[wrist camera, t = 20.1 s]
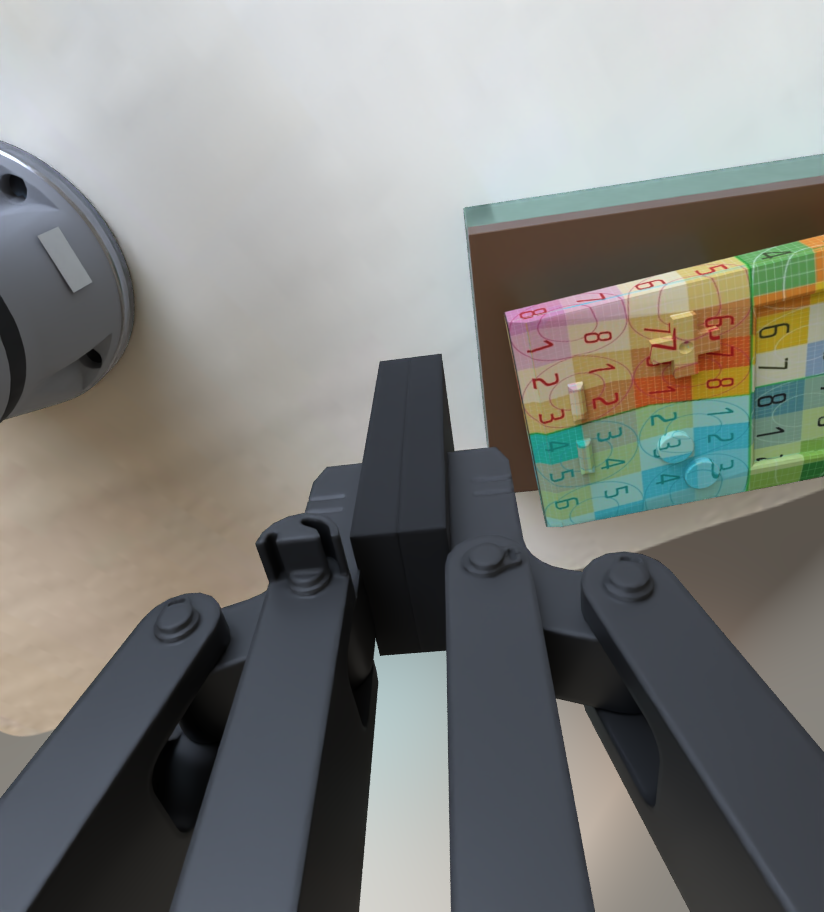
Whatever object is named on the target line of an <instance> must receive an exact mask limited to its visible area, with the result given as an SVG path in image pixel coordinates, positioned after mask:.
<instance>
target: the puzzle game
mask: <svg viewBox="0 0 824 912" xmlns="http://www.w3.org/2000/svg"><path fill="white" fill-rule="evenodd" d="M504 318H505V323H506V328H507V333H508V338H509V343H510V348H511V353H512V358H513V363H514V368H515V373H516V379H517V384H518V389H519V394H520V399H521V404H522V409H523V414H524V419H525V424H526V429H527V434H528V439H529V444H530V449H531V454H532V459H533V464H534V469H535V474H536V479H537V484H538V489H539V494H540V500H541V505H542V510H543V514H544V519H545V523H546V527H564V526H569V525H574V524H580V523H585V522H590V521H595V520H600V519H606V518H611V517H616V516H621V515H626V514H631V513H637V512H642V511H647V510H652V509H657V508H663V507H668V506H673V505H678V504H683V503H688V502H694V501H699V500H704V499H709V498H714V497H720V496H725V495H730V494H735V493H740V492H746V491H751V490H756V489H761V488H766V487H771V486H777V485H782V484H787V483H792V482H797V481H803V480H808V479H813V478H818V477H823V476H824V235H821V236H816V237H812V238H808V239H804V240H800V241H796V242H792V243H788V244H784V245H779V246H775V247H771V248H767V249H763V250H759V251H755V252H751V253H746V254H742V255H738V256H734V257H730V258H726V259H722V260H718V261H714V262H709V263H705V264H701V265H697V266H693V267H689V268H685V269H681V270H677V271H672V272H668V273H664V274H660V275H656V276H652V277H648V278H644V279H639V280H635V281H631V282H627V283H623V284H619V285H615V286H611V287H607V288H602V289H598V290H594V291H590V292H586V293H582V294H578V295H574V296H570V297H565V298H561V299H557V300H553V301H549V302H545V303H541V304H537V305H532V306H528V307H524V308H520V309H516V310H512V311H508V312H504Z"/></svg>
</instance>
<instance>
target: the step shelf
mask: <svg viewBox="0 0 824 912" xmlns="http://www.w3.org/2000/svg"><path fill="white" fill-rule="evenodd" d="M464 219H465V229H466V239H467V249H468V259H469V269H470V279H471V289H472V299H473V309H474V319H475V329H476V339H477V349H478V359H479V369H480V379H481V389H482V399H483V409H484V418H485V428H486V438H487V447H488V448H489V447H497V448H498V449H499V450H500V451H501V452H502V453H503V454H504V455H505V456H506V457H507V458H508V459H509V464H510V469H511V475H512V480H513V486H514V492H515V493H516V492H526V491H536V490H539V489H538V484H537V479H536V474H535V469H534V464H533V459H532V454H531V449H530V444H529V439H528V434H527V429H526V424H525V419H524V414H523V409H522V404H521V399H520V394H519V389H518V384H517V379H516V373H515V368H514V363H513V358H512V353H511V348H510V343H509V338H508V333H507V328H506V323H505V318H504V312H508V311H512V310H516V309H520V308H524V307H528V306H532V305H537V304H541V303H545V302H549V301H553V300H557V299H561V298H565V297H570V296H574V295H578V294H582V293H586V292H590V291H594V290H598V289H602V288H607V287H611V286H615V285H619V284H623V283H627V282H631V281H635V280H639V279H644V278H648V277H652V276H656V275H660V274H664V273H668V272H672V271H677V270H681V269H685V268H689V267H693V266H697V265H701V264H705V263H709V262H714V261H718V260H722V259H726V258H730V257H734V256H738V255H742V254H746V253H751V252H755V251H759V250H763V249H767V248H771V247H775V246H779V245H784V244H788V243H792V242H796V241H800V240H804V239H808V238H812V237H816V236H821V235H824V154H820V155H813V156H807V157H800V158H793V159H787V160H780V161H773V162H767V163H760V164H753V165H746V166H740V167H733V168H726V169H720V170H713V171H706V172H700V173H693V174H686V175H680V176H673V177H666V178H659V179H653V180H646V181H639V182H633V183H626V184H619V185H613V186H606V187H599V188H593V189H586V190H579V191H572V192H566V193H559V194H552V195H546V196H539V197H532V198H526V199H519V200H512V201H506V202H499V203H492V204H485V205H479V206H472V207H465V208H464Z"/></svg>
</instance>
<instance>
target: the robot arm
mask: <svg viewBox="0 0 824 912" xmlns="http://www.w3.org/2000/svg"><path fill="white" fill-rule="evenodd" d="M133 322H134V295H133V288H132V282H131V278H130V274H129V271H128V268H127V265H126V262H125V259H124V256H123V254H122V252H121V250H120V247H119V245H118V243H117V241H116V240H115V238H114V236H113V234H112V232H111V231H110V229H109V228H108V226H107V224H106V223H105V221H104V220H103V218H102V217H101V216H100V215H99V213H98V212H97V211H96V209H95V208H94V207H93V206H92V204H91V203H90V202H89V201H88V200H87V199H86V198H85V196H84V195H83V194H82V193H81V192H80V191H79V190H78V189H77V188H76V187H75V186H74V185H73V184H71V183H70V182H69V181H68V180H67V179H66V178H64V177H63V176H62V175H61V174H60V173H58V172H57V171H56V170H54V169H53V168H51V167H50V166H49V165H47V164H46V163H44V162H43V161H41V160H39V159H38V158H36V157H35V156H33V155H31V154H29V153H27V152H25V151H23V150H22V149H20V148H18V147H15V146H13V145H10V144H8V143H6V142H3V141H0V423H1V422H2V421H3V420H5V419H8V418H12V417H15V416H19V415H22V414H25V413H29V412H32V411H36V410H39V409H42V408H46V407H49V406H53V405H56V404H59V403H62V402H65V401H68V400H70V399H73V398H75V397H77V396H79V395H81V394H83V393H85V392H86V391H88V390H89V389H90V388H92V387H93V386H94V385H95V384H96V383H98V382H99V381H100V380H101V379H102V378H103V377H104V376H105V375H106V374H107V373H108V372H109V371H110V370H111V369H112V368H113V367H114V365H115V364H116V363H117V362H118V360H119V359H120V357H121V356H122V354H123V353H124V351H125V349H126V346H127V344H128V342H129V339H130V335H131V332H132V327H133ZM255 545H256V547H257V550H258V553H259V556H260V558H261V561H262V564H263V567H264V569H265V572H266V575H267V578H268V580H269V585H268V589H267V591H265V592H264V593H262V594H260V595H258V596H255V597H253V598H251V599H248V600H245V601H242V602H239V603H236V604H233V605H230V606H227V607H224V608H220V605H219V604H218V602H217V601H216V600H215V599H214V598H213V597H212V596H209V595H206V594H203V593H187V594H183V595H180V596H176V597H173V598H170V599H168V600H167V601H165V602H163V603H161V604H160V605H158V606H156V607H155V608H154V609H152V610H151V611H150V612H149V613H148V614H147V615H146V616H145V617H144V618H143V619H142V620H141V622H140V623H139V624H138V625H137V627H136V628H135V629H134V630H133V632H132V633H131V634H130V635H129V637H128V638H127V639H126V640H125V642H124V643H123V644H122V645H121V647H120V648H119V649H118V651H117V652H116V653H115V654H114V656H113V657H112V658H111V659H110V661H109V662H108V663H107V664H106V666H105V667H104V668H103V669H102V671H101V672H100V673H99V674H98V676H97V677H96V678H95V680H94V681H93V682H92V683H91V685H90V686H89V687H88V688H87V690H86V691H85V692H84V693H83V695H82V696H81V697H80V698H79V700H78V701H77V702H76V703H75V705H74V706H73V707H72V708H71V710H70V711H69V712H68V714H67V715H66V716H65V717H64V719H63V720H62V721H61V722H60V724H59V725H58V726H57V727H56V729H55V730H54V731H53V733H52V734H51V735H50V736H49V737H48V739H47V740H46V741H45V743H44V744H43V745H42V746H41V748H40V749H39V750H38V751H37V753H36V754H35V755H34V756H33V758H32V759H31V760H30V762H29V763H28V764H27V765H26V767H25V768H24V769H23V770H22V771H21V773H20V774H19V775H18V777H17V778H16V779H15V780H14V782H13V783H12V784H11V785H10V787H9V788H8V789H7V790H6V792H5V793H4V794H3V796H2V797H1V798H0V912H359V905H360V892H361V881H362V869H363V857H364V846H365V834H366V833H365V832H366V822H367V810H368V798H369V786H370V774H371V762H372V751H373V739H374V727H375V715H376V703H377V691H378V678H377V671H376V667H375V664H374V660H373V658H374V648H375V638H376V642H377V645H378V649H379V653H380V656H382V655H395V654H407V653H421V652H434V651H446V652H447V653H446V654H447V708H448V709H447V710H448V711H447V712H448V769H449V825H450V879H451V880H450V882H451V912H595V909H594V904H593V899H592V893H591V887H590V882H589V877H588V872H587V866H586V860H585V855H584V849H583V844H582V839H581V833H580V828H579V822H578V817H577V812H576V807H575V801H574V795H573V790H572V785H571V779H570V774H569V768H568V763H567V757H566V752H565V747H564V741H563V736H562V730H561V725H560V719H559V714H558V709H557V703H556V698H557V699H561V700H566V701H570V702H575V703H579V704H583V705H584V707H585V711H586V713H587V714H588V716H589V718H590V720H591V722H592V724H593V726H594V728H595V730H596V732H597V734H598V736H599V737H600V739H601V741H602V743H603V745H604V747H605V749H606V751H607V753H608V755H609V757H610V759H611V761H612V762H613V764H614V766H615V768H616V770H617V772H618V774H619V776H620V778H621V780H622V782H623V784H624V785H625V787H626V789H627V791H628V793H629V795H630V797H631V799H632V801H633V803H634V805H635V807H636V809H637V811H638V812H639V814H640V816H641V818H642V820H643V822H644V824H645V826H646V828H647V830H648V832H649V834H650V836H651V837H652V839H653V841H654V843H655V845H656V847H657V849H658V851H659V853H660V855H661V857H662V859H663V861H664V862H665V864H666V866H667V868H668V870H669V872H670V874H671V876H672V878H673V880H674V882H675V884H676V885H677V887H678V889H679V891H680V893H681V895H682V897H683V899H684V901H685V903H686V905H687V907H688V908H689V910H690V912H824V752H823V751H822V749H821V748H820V747H819V746H818V745H817V744H816V742H815V741H814V740H813V739H812V738H811V736H810V735H809V734H808V733H807V732H806V731H805V729H804V728H803V727H802V726H801V725H800V723H799V722H798V721H797V720H796V719H795V717H794V716H793V715H792V714H791V713H790V712H789V710H788V709H787V708H786V707H785V706H784V704H783V703H782V702H781V701H780V700H779V698H778V697H777V696H776V695H775V694H774V693H773V691H772V690H771V689H770V688H769V687H768V685H767V684H766V683H765V682H764V681H763V679H762V678H761V677H760V676H759V675H758V674H757V672H756V671H755V670H754V669H753V668H752V667H751V665H750V664H749V663H748V662H747V661H746V659H745V658H744V657H743V656H742V655H741V653H740V652H739V651H738V650H737V649H736V647H735V646H734V645H733V644H732V643H731V642H730V640H729V639H728V638H727V637H726V636H725V634H724V633H723V632H722V631H721V630H720V629H719V627H718V626H717V625H716V624H715V623H714V621H713V620H712V619H711V618H710V617H709V615H708V614H707V613H706V612H705V611H704V610H703V608H702V607H701V606H700V605H699V604H698V603H697V601H696V600H695V599H694V598H693V596H692V595H691V594H690V593H689V592H688V591H687V589H686V588H685V587H684V586H683V585H682V583H681V582H680V581H679V580H678V579H677V577H676V576H675V575H674V574H673V573H672V572H671V571H670V570H669V569H668V568H667V567H666V566H664V565H663V564H662V563H661V562H659V561H658V560H655V559H653V558H651V557H648V556H646V555H643V554H638V553H631V552H617V553H608V554H605V555H603V556H600V557H598V558H596V559H594V560H592V561H591V562H590V563H589V564H588V565H587V566H586V567H585V568H584V570H583V572H581V571H574V570H568V569H563V568H558V567H554V566H551V565H549V564H547V563H544V562H542V561H540V560H539V559H538V558H536V557H535V556H533V555H532V554H531V552H530V551H529V550H528V549H527V548H526V545H525V543H524V540H523V535H522V529H521V524H520V519H519V513H518V508H517V502H516V497H515V492H514V486H513V480H512V475H511V469H510V464H509V459H508V458H507V457H506V456H505V455H504V454H503V453H502V452H501V451H500V450H499V449H498V448H497V447H489V448H480V449H471V450H462V451H454V444H453V436H452V429H451V421H450V414H449V406H448V399H447V391H446V384H445V376H444V369H443V361H442V354H436V355H428V356H420V357H412V358H404V359H396V360H388V361H380V363H379V369H378V375H377V381H376V386H375V392H374V398H373V404H372V410H371V415H370V421H369V427H368V433H367V439H366V444H365V450H364V456H363V462H362V463H359V464H350V465H341V466H332V467H326V469H325V470H324V471H323V472H322V473H321V474H320V475H319V476H318V478H317V479H316V480H315V481H314V482H313V485H312V489H311V492H310V496H309V502H308V503H307V507H306V510H305V513H302V514H298V515H293V516H289V517H286V518H284V519H282V520H280V521H278V522H276V523H273V524H272V525H271V526H270V527H269V528H267V529H266V530H265V531H264V532H262V534H261V535H260V537H259V538H258V540H257V541H256V543H255Z"/></svg>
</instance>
